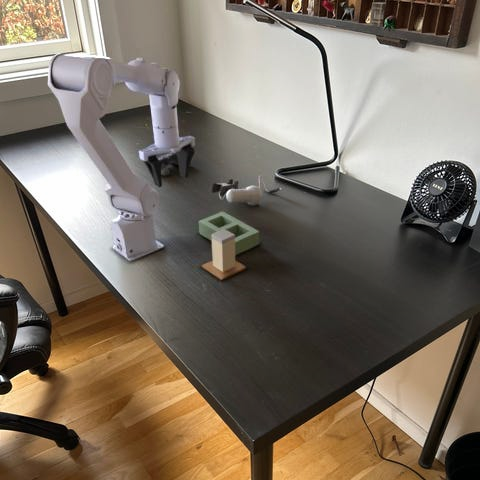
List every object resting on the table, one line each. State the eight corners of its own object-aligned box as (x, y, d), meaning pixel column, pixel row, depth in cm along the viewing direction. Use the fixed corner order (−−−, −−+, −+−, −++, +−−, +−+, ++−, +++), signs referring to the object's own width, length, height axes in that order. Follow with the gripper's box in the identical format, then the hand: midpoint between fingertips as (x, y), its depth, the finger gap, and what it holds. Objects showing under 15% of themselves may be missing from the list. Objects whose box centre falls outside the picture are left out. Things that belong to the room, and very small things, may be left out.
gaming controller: (166, 177, 147) (161, 160, 145) (149, 176, 152) (145, 160, 149) (192, 164, 155) (188, 148, 152) (176, 164, 159) (171, 148, 157)
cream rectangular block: (223, 272, 108) (221, 240, 103) (212, 265, 110) (211, 234, 105) (235, 266, 110) (234, 234, 105) (225, 259, 112) (224, 228, 107)
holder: (235, 255, 114) (234, 242, 112) (199, 233, 122) (198, 221, 120) (259, 244, 118) (259, 231, 116) (222, 223, 126) (222, 211, 124)
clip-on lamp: (261, 194, 145) (208, 196, 136) (264, 172, 142) (210, 172, 133) (284, 206, 137) (230, 208, 127) (289, 183, 134) (233, 184, 124)
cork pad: (221, 280, 106) (221, 278, 106) (202, 267, 110) (201, 265, 110) (245, 268, 110) (245, 266, 110) (225, 256, 114) (225, 254, 114)
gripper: (148, 137, 107) (155, 195, 115) (201, 121, 114) (204, 177, 123) (130, 128, 111) (139, 185, 119) (183, 114, 118) (187, 169, 127)
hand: (171, 181), depth 121 cm, fingers open, 7 cm apart
